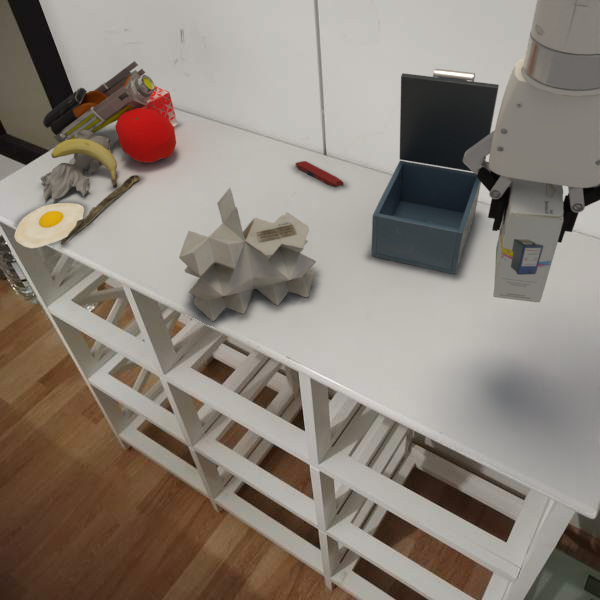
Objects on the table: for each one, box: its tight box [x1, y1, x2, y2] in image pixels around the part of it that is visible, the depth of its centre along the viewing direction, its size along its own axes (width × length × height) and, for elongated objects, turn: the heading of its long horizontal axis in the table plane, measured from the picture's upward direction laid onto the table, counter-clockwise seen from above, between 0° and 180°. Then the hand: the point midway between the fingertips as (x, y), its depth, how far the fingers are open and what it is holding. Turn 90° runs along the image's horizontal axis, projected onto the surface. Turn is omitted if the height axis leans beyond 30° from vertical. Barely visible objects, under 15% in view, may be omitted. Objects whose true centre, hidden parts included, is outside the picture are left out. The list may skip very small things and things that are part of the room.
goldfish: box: [39, 130, 113, 201], centre depth 118 cm, size 20×10×9 cm
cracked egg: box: [13, 202, 85, 249], centre depth 108 cm, size 13×12×1 cm
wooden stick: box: [60, 174, 141, 246], centre depth 109 cm, size 2×23×2 cm, turn 153°
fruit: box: [50, 139, 118, 188], centre depth 114 cm, size 7×13×3 cm
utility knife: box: [295, 160, 344, 187], centre depth 112 cm, size 12×1×2 cm
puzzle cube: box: [141, 85, 179, 128], centre depth 127 cm, size 8×8×8 cm
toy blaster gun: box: [42, 61, 156, 144], centre depth 121 cm, size 9×26×10 cm
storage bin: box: [371, 160, 482, 275], centre depth 96 cm, size 16×14×9 cm
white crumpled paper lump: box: [178, 187, 317, 322], centre depth 91 cm, size 23×19×15 cm
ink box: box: [492, 178, 564, 303], centre depth 60 cm, size 9×5×12 cm, turn 165°
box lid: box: [399, 68, 500, 172], centre depth 91 cm, size 16×14×5 cm
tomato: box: [114, 108, 177, 164], centre depth 118 cm, size 11×13×10 cm
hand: (528, 226), depth 59 cm, fingers closed on ink box, 5 cm apart
